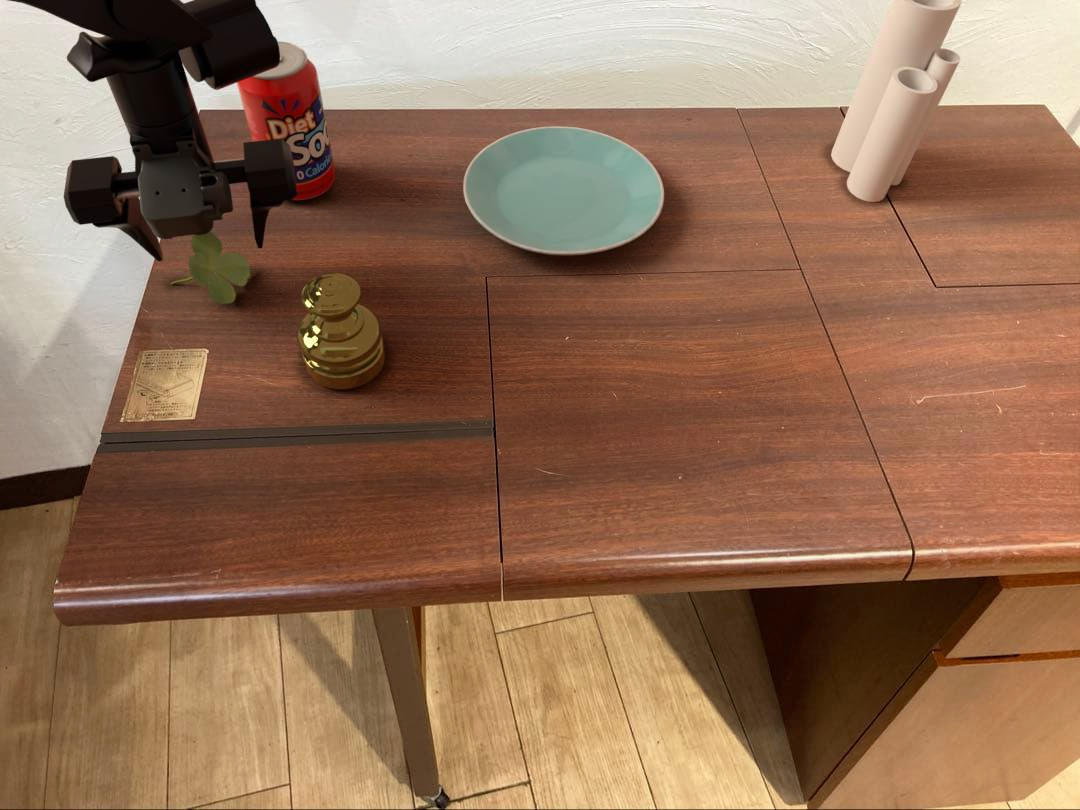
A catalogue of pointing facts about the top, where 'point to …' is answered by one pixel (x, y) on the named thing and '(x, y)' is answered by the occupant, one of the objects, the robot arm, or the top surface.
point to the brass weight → (339, 333)
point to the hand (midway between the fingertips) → (211, 251)
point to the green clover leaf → (216, 268)
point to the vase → (896, 95)
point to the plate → (563, 191)
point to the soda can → (292, 117)
